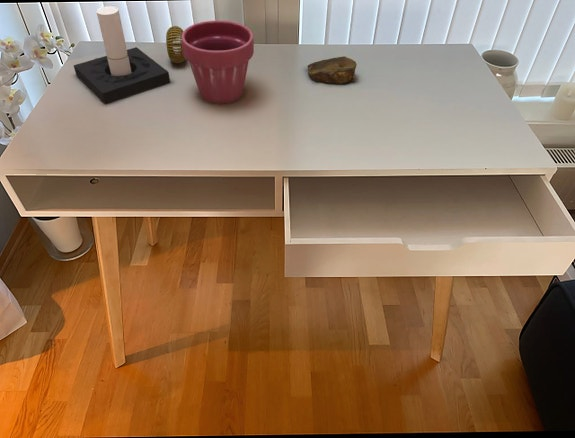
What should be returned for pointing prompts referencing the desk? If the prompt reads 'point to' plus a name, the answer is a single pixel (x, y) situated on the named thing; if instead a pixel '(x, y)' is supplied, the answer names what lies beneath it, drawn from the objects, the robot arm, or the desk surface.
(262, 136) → the desk surface
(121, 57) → the tube
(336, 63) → the decorative stone
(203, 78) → the flower pot
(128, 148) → the desk surface
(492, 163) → the desk surface
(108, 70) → the base pad
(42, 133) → the desk surface
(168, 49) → the sculpture
